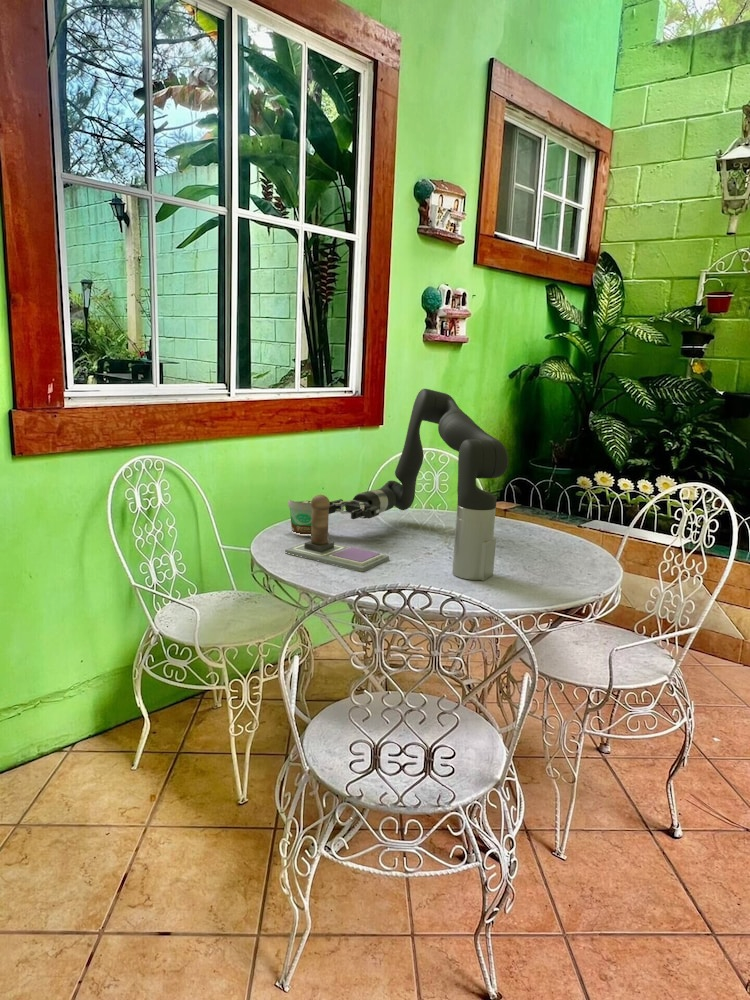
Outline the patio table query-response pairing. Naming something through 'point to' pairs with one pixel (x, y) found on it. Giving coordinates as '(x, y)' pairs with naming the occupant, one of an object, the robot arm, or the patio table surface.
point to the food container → (300, 516)
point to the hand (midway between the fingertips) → (339, 513)
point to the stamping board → (342, 556)
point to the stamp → (319, 525)
